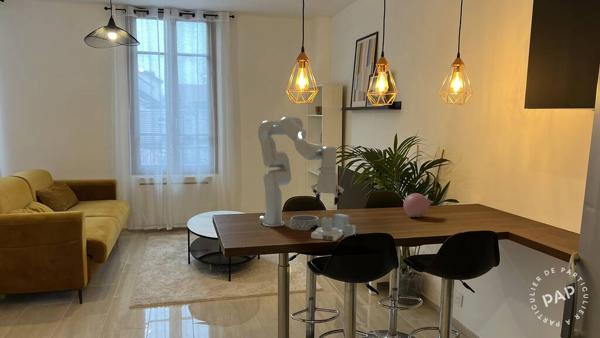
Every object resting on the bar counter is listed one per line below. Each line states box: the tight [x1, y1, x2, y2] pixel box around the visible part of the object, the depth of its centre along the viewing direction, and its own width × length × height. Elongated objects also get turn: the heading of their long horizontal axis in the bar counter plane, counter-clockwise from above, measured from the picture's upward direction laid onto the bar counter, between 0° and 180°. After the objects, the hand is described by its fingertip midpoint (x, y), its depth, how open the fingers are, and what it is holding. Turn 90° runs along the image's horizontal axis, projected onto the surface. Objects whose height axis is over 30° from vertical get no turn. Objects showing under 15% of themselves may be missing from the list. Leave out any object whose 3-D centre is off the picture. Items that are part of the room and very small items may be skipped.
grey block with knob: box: [321, 216, 334, 231], centre depth 220 cm, size 4×4×6 cm
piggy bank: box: [402, 192, 434, 218], centre depth 269 cm, size 15×20×15 cm
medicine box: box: [333, 213, 350, 233], centre depth 233 cm, size 8×4×9 cm, turn 43°
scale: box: [310, 226, 344, 242], centre depth 220 cm, size 13×14×4 cm
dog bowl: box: [288, 214, 322, 231], centre depth 242 cm, size 17×18×5 cm
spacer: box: [343, 223, 356, 238], centre depth 220 cm, size 4×4×6 cm
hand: (326, 203), depth 219 cm, fingers open, 9 cm apart
